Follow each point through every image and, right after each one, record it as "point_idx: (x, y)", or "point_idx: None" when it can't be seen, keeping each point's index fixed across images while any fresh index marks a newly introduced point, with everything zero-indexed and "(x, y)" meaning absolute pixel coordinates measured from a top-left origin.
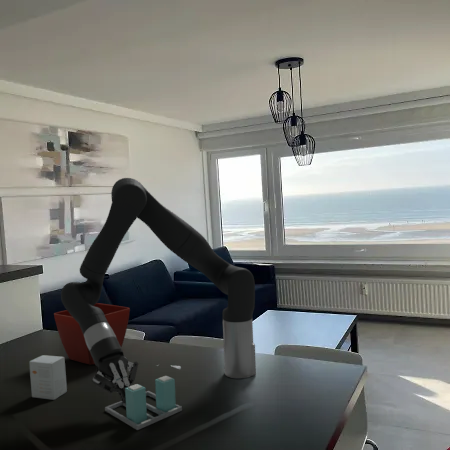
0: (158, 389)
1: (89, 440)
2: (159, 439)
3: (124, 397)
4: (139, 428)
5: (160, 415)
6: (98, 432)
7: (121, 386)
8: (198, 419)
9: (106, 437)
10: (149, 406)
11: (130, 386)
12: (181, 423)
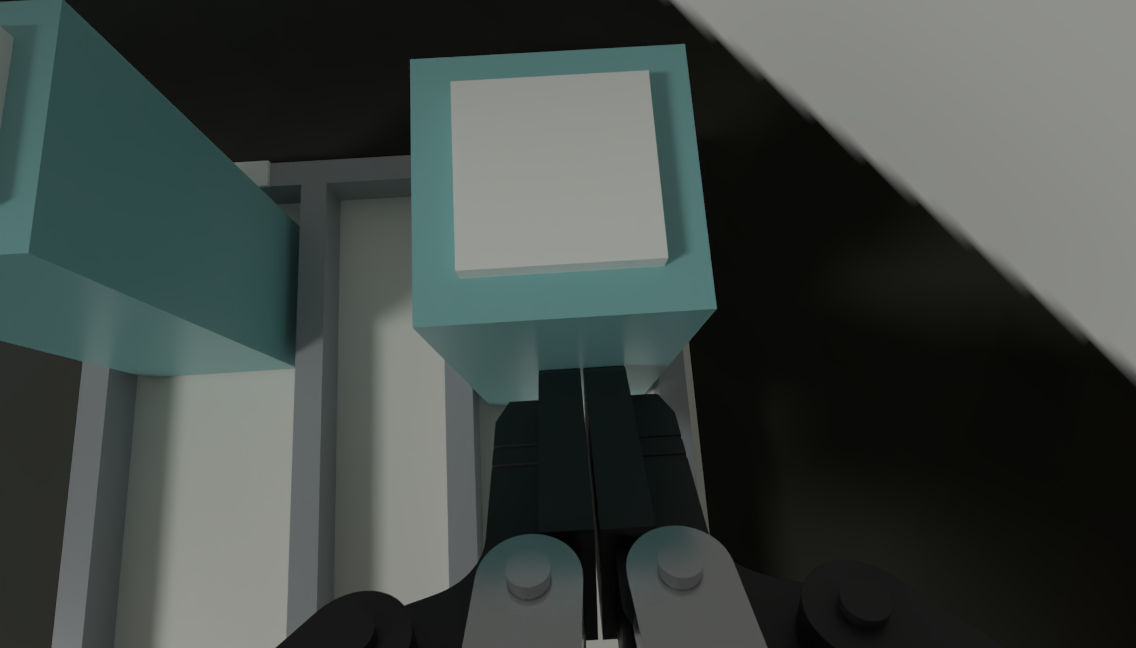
0: (150, 227)
1: (1027, 384)
2: (556, 7)
3: (661, 432)
4: None
5: (375, 167)
6: (913, 464)
7: (688, 545)
8: (131, 46)
9: (883, 324)
10: (321, 441)
11: (624, 243)
12: (273, 87)
